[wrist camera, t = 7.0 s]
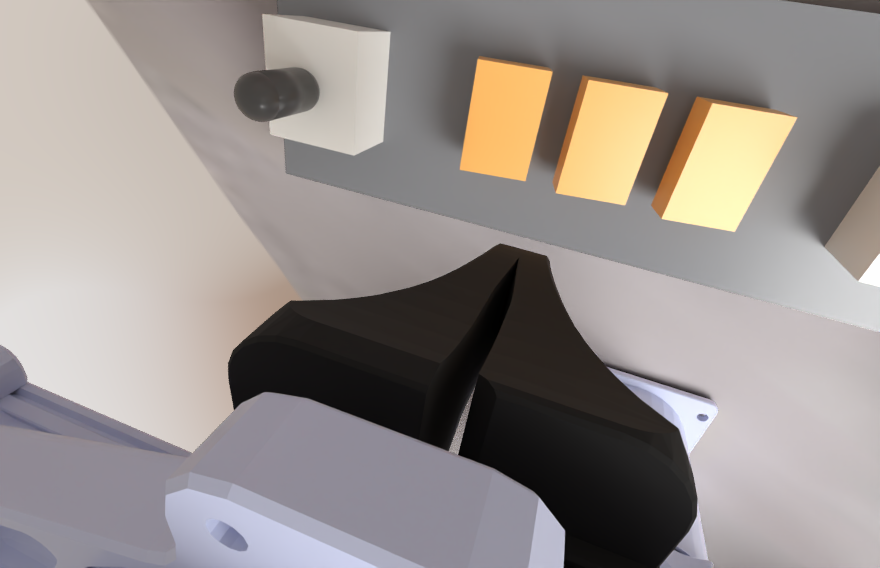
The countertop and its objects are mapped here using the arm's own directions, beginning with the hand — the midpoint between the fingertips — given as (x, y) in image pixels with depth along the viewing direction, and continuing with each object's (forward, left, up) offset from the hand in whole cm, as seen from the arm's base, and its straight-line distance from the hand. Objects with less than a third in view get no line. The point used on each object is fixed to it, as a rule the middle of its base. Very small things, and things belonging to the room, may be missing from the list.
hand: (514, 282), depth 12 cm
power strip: (+3, -1, -10) cm, 11 cm away
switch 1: (+3, +2, -7) cm, 8 cm away
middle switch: (+3, -1, -7) cm, 8 cm away
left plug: (+3, +9, -7) cm, 12 cm away
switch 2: (+3, -5, -7) cm, 9 cm away
